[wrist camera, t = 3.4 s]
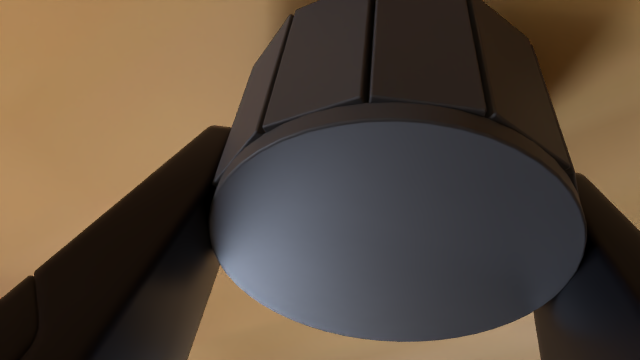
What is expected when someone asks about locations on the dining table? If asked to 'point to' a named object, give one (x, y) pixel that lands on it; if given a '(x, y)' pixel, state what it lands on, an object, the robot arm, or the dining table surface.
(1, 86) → the dining table surface
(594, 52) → the dining table surface
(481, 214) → the cap
